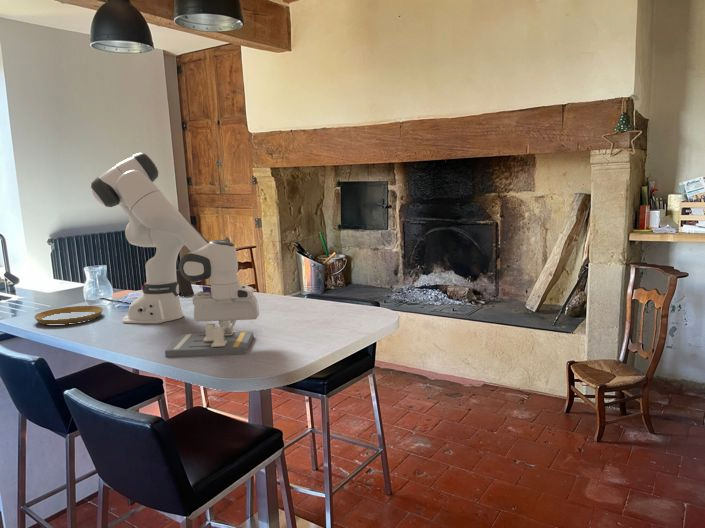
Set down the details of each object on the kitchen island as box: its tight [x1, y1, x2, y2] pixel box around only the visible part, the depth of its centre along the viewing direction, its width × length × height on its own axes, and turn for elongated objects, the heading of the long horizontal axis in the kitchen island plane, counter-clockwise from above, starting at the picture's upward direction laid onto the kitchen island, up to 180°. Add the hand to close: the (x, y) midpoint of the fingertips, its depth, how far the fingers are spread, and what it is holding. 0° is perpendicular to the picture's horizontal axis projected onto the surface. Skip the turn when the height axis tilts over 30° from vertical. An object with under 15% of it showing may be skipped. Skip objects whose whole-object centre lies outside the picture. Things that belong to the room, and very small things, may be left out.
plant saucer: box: [33, 305, 104, 325], centre depth 214 cm, size 24×24×3 cm
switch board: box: [164, 330, 254, 358], centre depth 173 cm, size 24×18×2 cm
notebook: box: [112, 289, 137, 299], centre depth 252 cm, size 27×17×2 cm, turn 57°
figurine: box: [199, 282, 211, 292], centre depth 251 cm, size 6×8×15 cm
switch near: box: [211, 326, 227, 347], centre depth 167 cm, size 4×4×5 cm
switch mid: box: [203, 322, 216, 341], centre depth 173 cm, size 4×4×5 cm
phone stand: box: [176, 269, 195, 297], centre depth 256 cm, size 9×6×12 cm, turn 56°
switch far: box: [223, 320, 235, 335], centre depth 179 cm, size 4×4×5 cm
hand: (228, 333), depth 173 cm, fingers closed
